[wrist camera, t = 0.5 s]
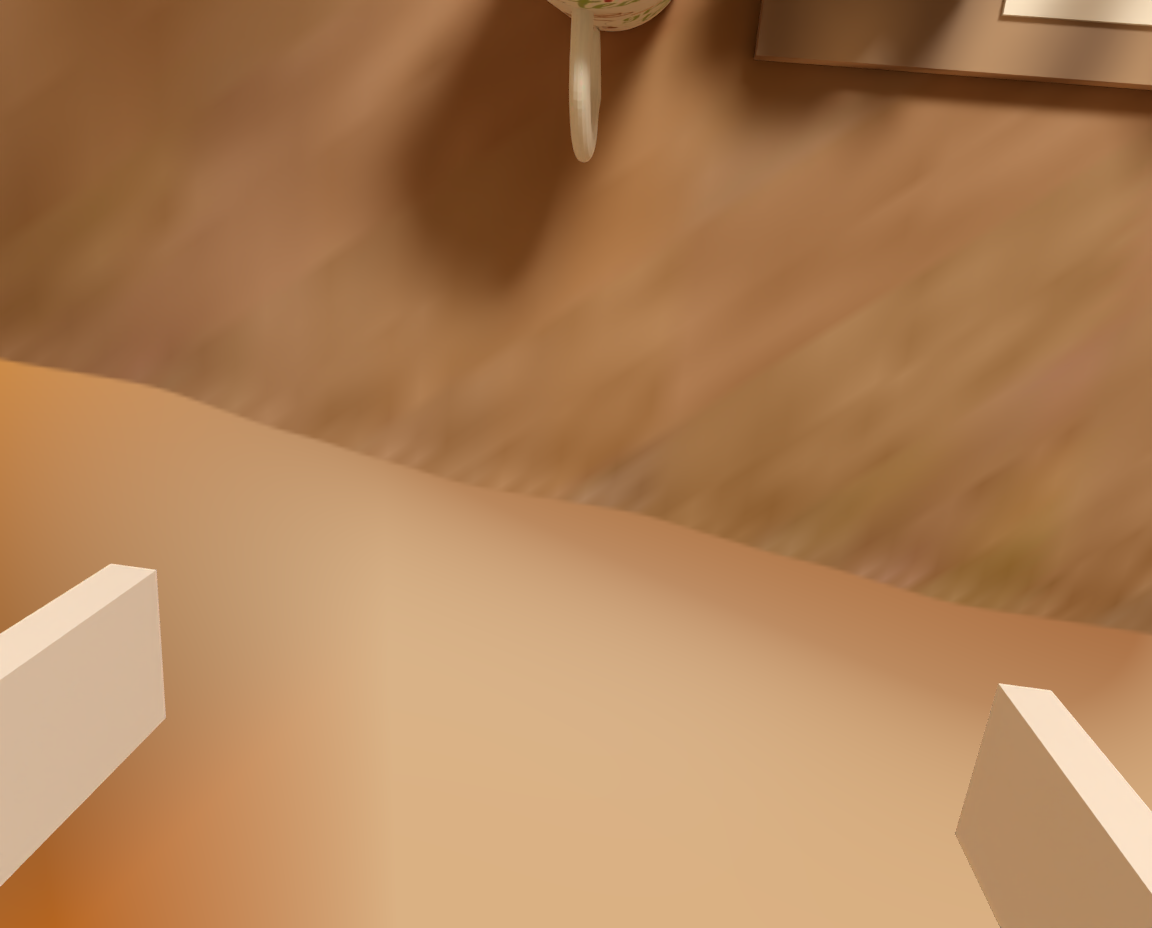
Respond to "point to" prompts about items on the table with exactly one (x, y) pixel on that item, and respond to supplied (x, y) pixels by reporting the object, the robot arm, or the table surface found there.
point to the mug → (595, 58)
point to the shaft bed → (968, 38)
